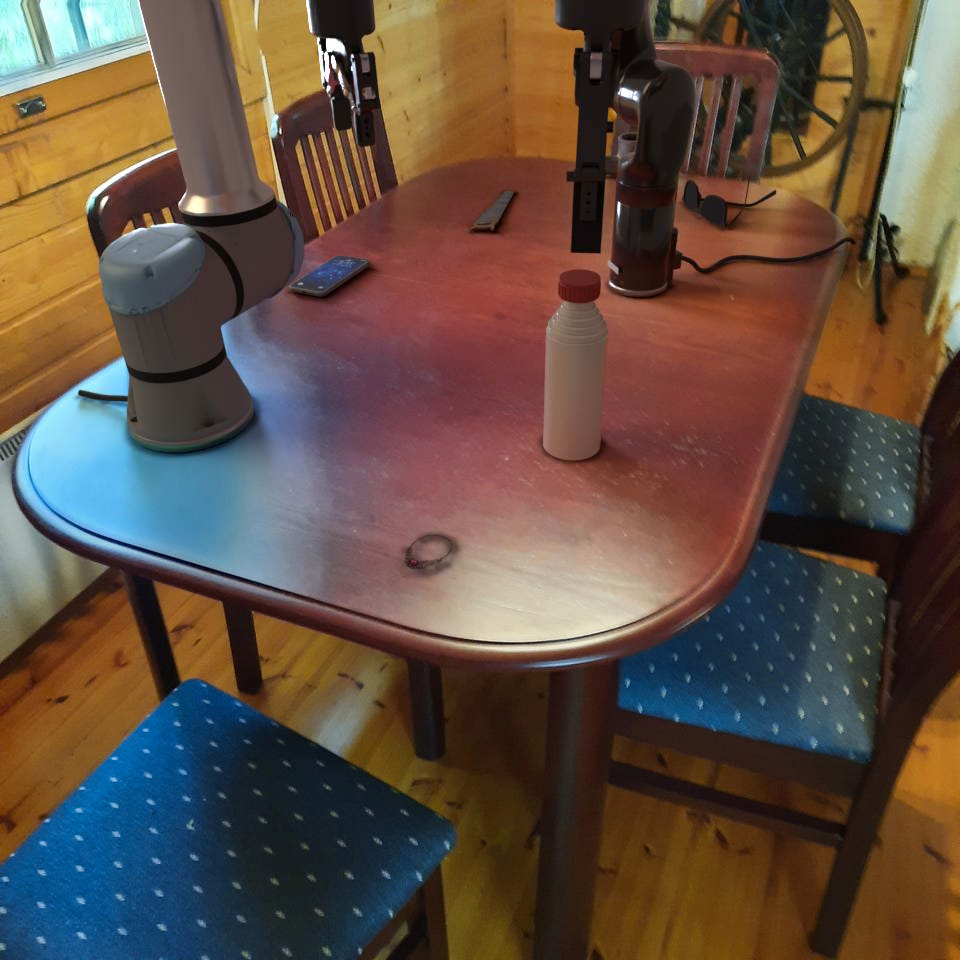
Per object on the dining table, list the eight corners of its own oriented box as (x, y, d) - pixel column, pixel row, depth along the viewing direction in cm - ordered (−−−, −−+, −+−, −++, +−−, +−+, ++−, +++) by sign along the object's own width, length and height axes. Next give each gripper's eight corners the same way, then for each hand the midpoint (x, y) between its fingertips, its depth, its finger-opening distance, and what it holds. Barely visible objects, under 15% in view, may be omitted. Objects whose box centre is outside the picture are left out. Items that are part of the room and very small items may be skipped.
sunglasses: (787, 221, 160) (792, 194, 157) (718, 230, 157) (722, 203, 154) (740, 193, 173) (744, 168, 170) (675, 201, 170) (678, 176, 167)
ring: (393, 566, 86) (392, 558, 85) (426, 530, 90) (425, 523, 89) (428, 579, 84) (428, 572, 83) (460, 542, 88) (460, 535, 88)
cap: (572, 307, 89) (573, 289, 87) (550, 291, 92) (550, 274, 91) (608, 298, 90) (609, 280, 89) (585, 283, 93) (586, 265, 92)
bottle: (562, 467, 99) (569, 300, 86) (532, 438, 104) (535, 276, 91) (611, 450, 101) (625, 285, 89) (580, 423, 106) (589, 263, 94)
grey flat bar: (493, 190, 178) (493, 187, 178) (515, 191, 177) (515, 188, 177) (468, 231, 159) (468, 228, 159) (493, 232, 158) (493, 229, 158)
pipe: (587, 172, 186) (589, 134, 181) (645, 169, 187) (649, 131, 182) (593, 181, 181) (595, 142, 176) (652, 178, 182) (656, 139, 177)
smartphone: (285, 286, 139) (337, 253, 150) (286, 292, 139) (338, 259, 150) (322, 293, 136) (373, 259, 147) (323, 299, 137) (373, 264, 147)
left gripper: (652, -7, 60) (628, 278, 73) (643, -45, 80) (625, 184, 93) (545, -6, 61) (539, 275, 74) (563, -44, 81) (556, 183, 93)
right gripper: (392, -9, 92) (404, 147, 102) (349, -23, 102) (363, 120, 112) (325, -3, 89) (344, 156, 99) (288, -17, 100) (308, 128, 109)
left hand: (587, 225), depth 83 cm, fingers open, 13 cm apart
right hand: (354, 137), depth 106 cm, fingers open, 8 cm apart
